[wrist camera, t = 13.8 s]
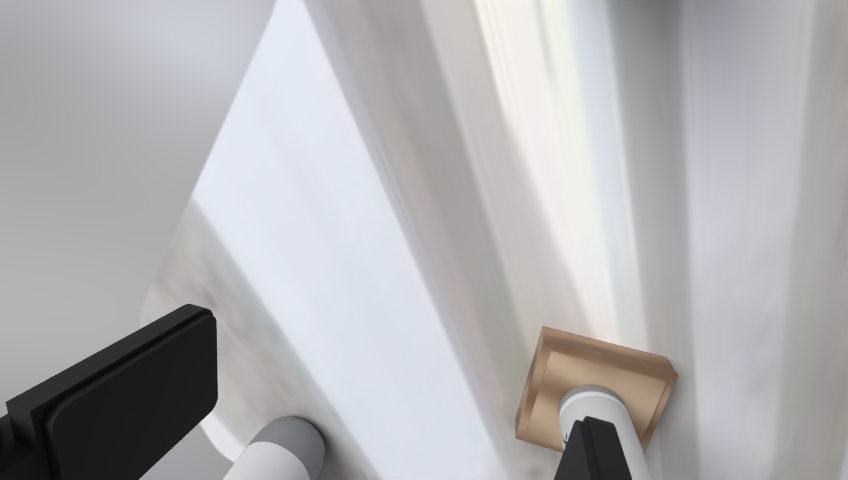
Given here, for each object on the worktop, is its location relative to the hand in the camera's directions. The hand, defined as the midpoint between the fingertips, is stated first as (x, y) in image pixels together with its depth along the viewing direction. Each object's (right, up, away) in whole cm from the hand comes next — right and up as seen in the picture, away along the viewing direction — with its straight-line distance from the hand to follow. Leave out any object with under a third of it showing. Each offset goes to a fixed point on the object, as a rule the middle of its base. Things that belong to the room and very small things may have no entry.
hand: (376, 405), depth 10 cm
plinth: (+18, -12, +31) cm, 38 cm away
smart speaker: (-15, -22, +43) cm, 51 cm away
